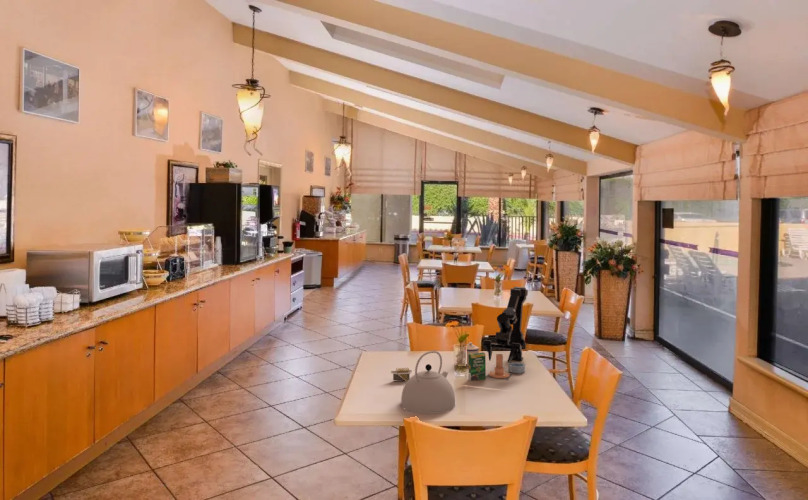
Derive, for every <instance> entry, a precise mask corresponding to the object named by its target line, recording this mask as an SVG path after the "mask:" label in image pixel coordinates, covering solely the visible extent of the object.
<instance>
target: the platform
mask: <svg viewBox="0 0 808 500" xmlns="http://www.w3.org/2000/svg"><path fill="white" fill-rule="evenodd" d="M390 373H391V374H392V376H393V377H392V381H393V380H405V382H407V381H408V380H409V379H410V378H411V376H410V374H412V370H411V369H410V368H409V367H407V368H406V367H400V368H399V367H396V369H395V370H392V371H390ZM406 380H407V381H406Z"/></svg>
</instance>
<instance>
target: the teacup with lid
mask: <svg viewBox="0 0 808 500" xmlns="http://www.w3.org/2000/svg"><path fill="white" fill-rule="evenodd" d="M466 345H467V365H466V366H469V357H468V356H469V354H474V353H480V352H479V351H480V348H479V346H478V345H477V346H476V345H475V344H473V342H471V341H470V342H467V344H466Z"/></svg>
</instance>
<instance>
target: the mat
mask: <svg viewBox="0 0 808 500" xmlns="http://www.w3.org/2000/svg"><path fill="white" fill-rule="evenodd" d="M490 372H492V371H490ZM509 374H510V376H509V377H508V378H504V379H501V380H504V381H509V379H511V377H512V375H513V373H509ZM486 378H488V379H494V380H495V379H496V380H499V379H498V378H492V377H490V376H489V373H488V374H487V375H486Z"/></svg>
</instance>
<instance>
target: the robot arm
mask: <svg viewBox="0 0 808 500" xmlns="http://www.w3.org/2000/svg"><path fill="white" fill-rule="evenodd" d="M509 294H510V296H509V299H508V304H507V305H506V306H507V307H506V308H505V309H504V310H503V311H501V313H500V314H498V316H497V317H496V321H497V325H498V328H500V329H499V332H497V331H496V332H495V337H494V339H495V342H496V343H495V342H492V340H489V339H484V340H483V341H482V346H483V349H484V351H486V352H487V353H488V354H487V355H488V362H489V361H491V360H492V356H493V349H494V348H495V349H502V350H503V349H504V350H510V352H509V355H508V359H507V364H510V363H511V361H519V362H521V361H523V359H524V357H523V350H526V349H527V348H526V345H527V344H526V340H525V338H524V336H525V335H524V333H523V332H522V324H523V323H522V322H523V321H522V320H523V310H524V309H523V306H524V303H525V301H527V297H528V294H529V290H528V289H527V288H526V287H523V286H513V288H510V293H509Z"/></svg>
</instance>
